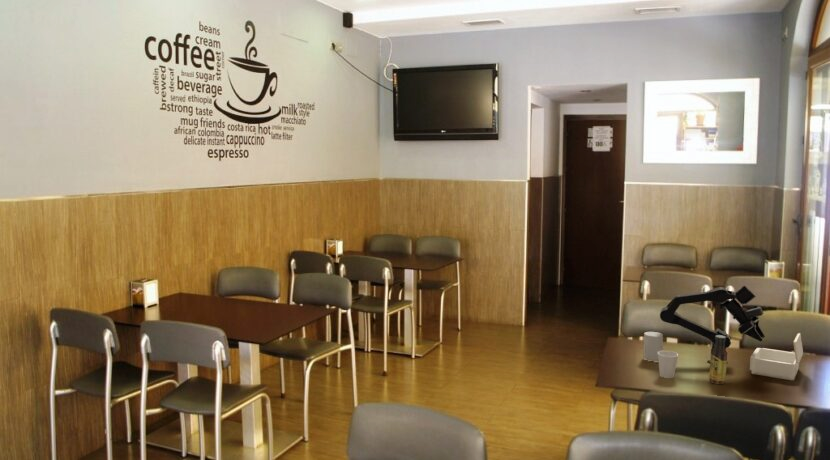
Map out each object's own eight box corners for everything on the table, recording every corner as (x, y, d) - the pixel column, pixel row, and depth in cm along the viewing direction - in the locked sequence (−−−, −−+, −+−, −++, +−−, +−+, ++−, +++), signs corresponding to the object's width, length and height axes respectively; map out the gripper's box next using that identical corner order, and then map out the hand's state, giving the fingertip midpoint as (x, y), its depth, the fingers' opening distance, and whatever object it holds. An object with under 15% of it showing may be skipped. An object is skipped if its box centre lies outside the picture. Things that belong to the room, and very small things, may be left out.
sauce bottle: (706, 380, 286) (708, 333, 283) (720, 379, 286) (722, 333, 284) (714, 385, 279) (716, 338, 277) (728, 385, 280) (731, 337, 277)
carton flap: (793, 342, 284) (795, 342, 284) (797, 333, 298) (800, 333, 297) (796, 363, 284) (798, 363, 284) (800, 353, 298) (803, 353, 297)
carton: (749, 373, 294) (750, 357, 293) (756, 362, 310) (757, 347, 309) (793, 381, 284) (794, 364, 284) (798, 368, 300) (799, 353, 300)
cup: (661, 357, 317) (662, 332, 315) (661, 362, 309) (663, 337, 308) (643, 356, 319) (644, 331, 318) (643, 361, 312) (644, 335, 310)
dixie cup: (667, 380, 285) (668, 357, 284) (652, 374, 293) (653, 352, 291) (681, 377, 289) (682, 354, 288) (666, 371, 296) (667, 349, 295)
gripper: (748, 304, 292) (775, 333, 287) (755, 296, 307) (781, 323, 302) (727, 319, 297) (753, 348, 292) (735, 311, 313) (760, 338, 308)
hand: (762, 339), depth 299 cm, fingers open, 6 cm apart
